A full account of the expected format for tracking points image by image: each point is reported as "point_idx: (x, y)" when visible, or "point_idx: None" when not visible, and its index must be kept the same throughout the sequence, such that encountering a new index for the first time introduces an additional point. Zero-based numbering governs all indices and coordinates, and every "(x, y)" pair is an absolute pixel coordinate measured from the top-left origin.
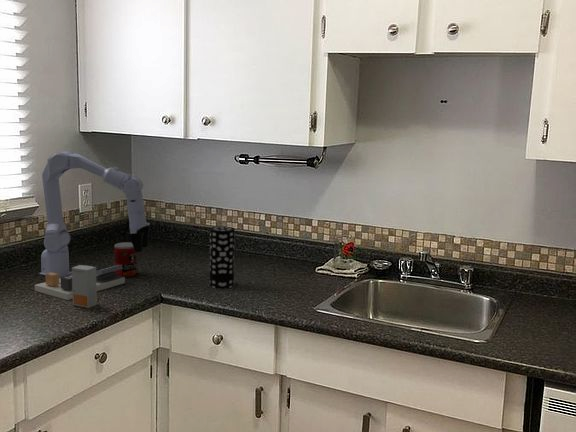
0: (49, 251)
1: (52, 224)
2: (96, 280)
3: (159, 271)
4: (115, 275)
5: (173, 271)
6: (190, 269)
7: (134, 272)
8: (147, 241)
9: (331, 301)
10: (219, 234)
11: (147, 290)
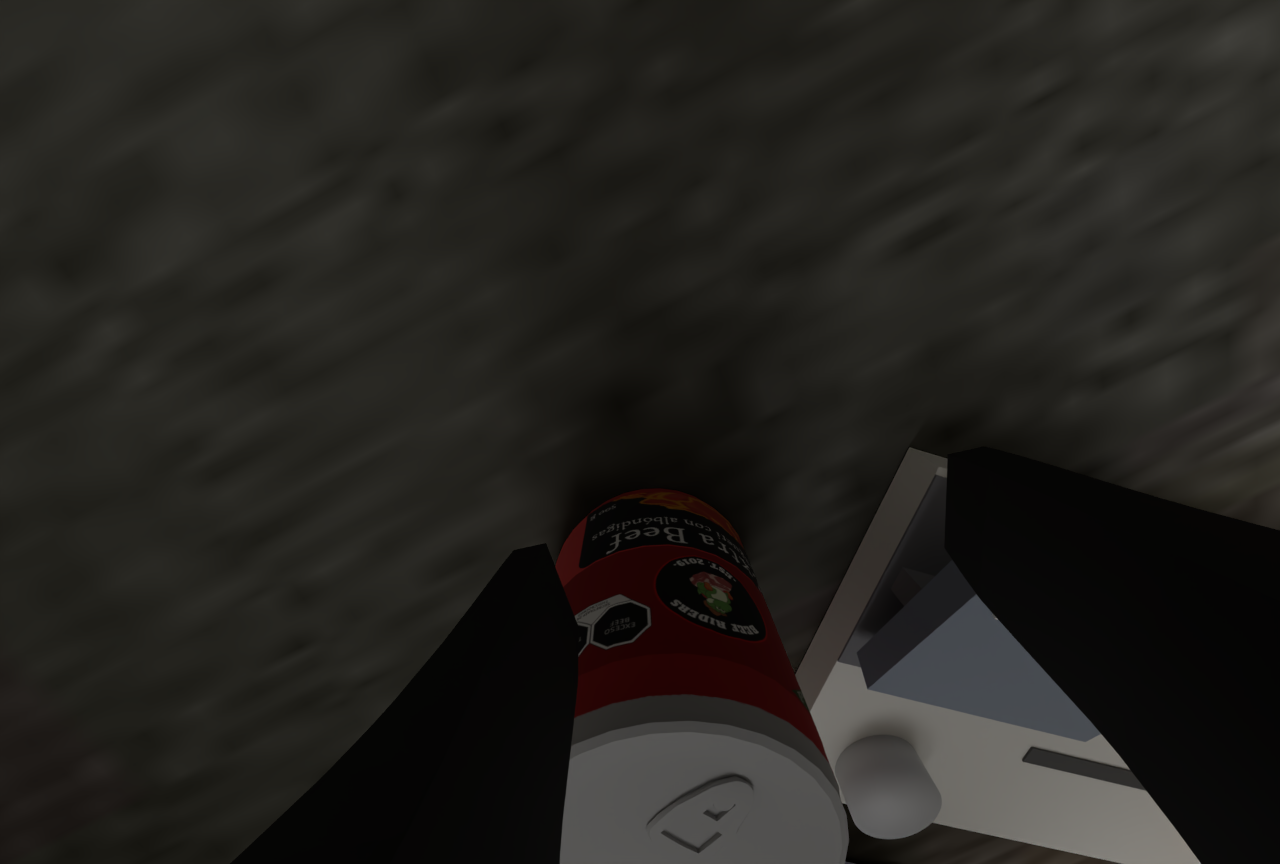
0: None
1: None
2: None
3: (432, 339)
4: (905, 567)
5: (356, 192)
6: (162, 19)
7: (668, 496)
8: (504, 608)
9: None
10: None
11: (1124, 117)
